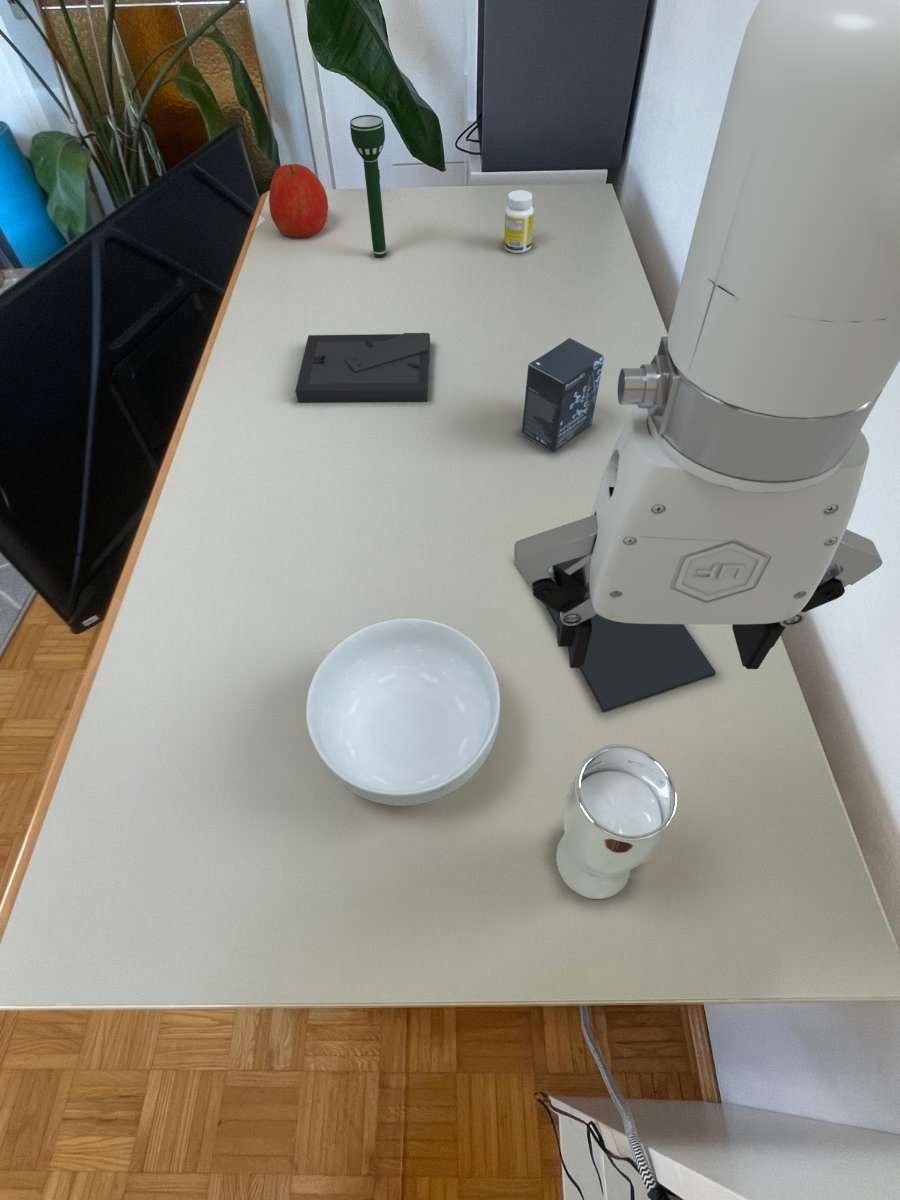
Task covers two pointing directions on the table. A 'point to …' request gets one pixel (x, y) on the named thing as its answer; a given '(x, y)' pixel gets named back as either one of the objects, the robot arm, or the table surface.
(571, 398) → the box
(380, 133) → the flashlight
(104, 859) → the table surface
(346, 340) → the picture frame
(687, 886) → the table surface
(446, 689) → the cereal bowl
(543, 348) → the table surface
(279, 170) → the apple
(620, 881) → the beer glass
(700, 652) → the placemat
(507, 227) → the supplement bottle
